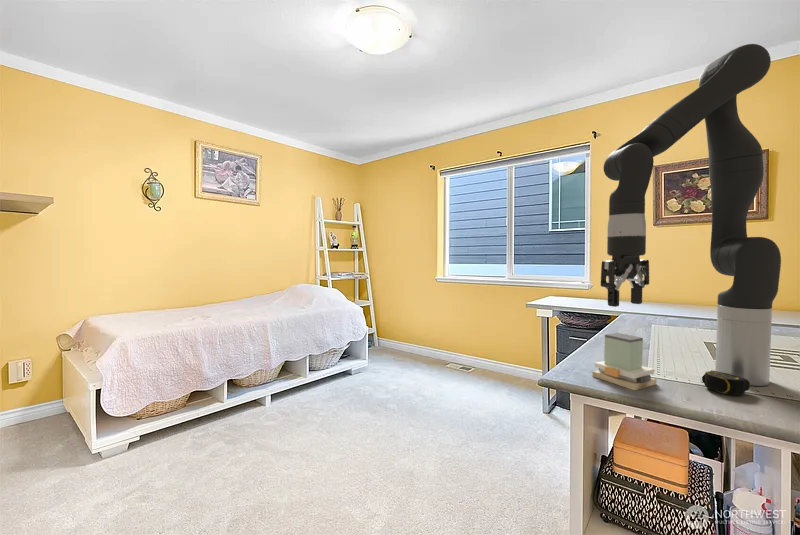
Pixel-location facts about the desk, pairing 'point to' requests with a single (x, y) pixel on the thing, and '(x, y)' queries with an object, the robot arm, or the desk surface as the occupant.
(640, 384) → the rail stand
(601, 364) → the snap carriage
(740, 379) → the tape measure
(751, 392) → the desk surface
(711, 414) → the desk surface
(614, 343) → the block
